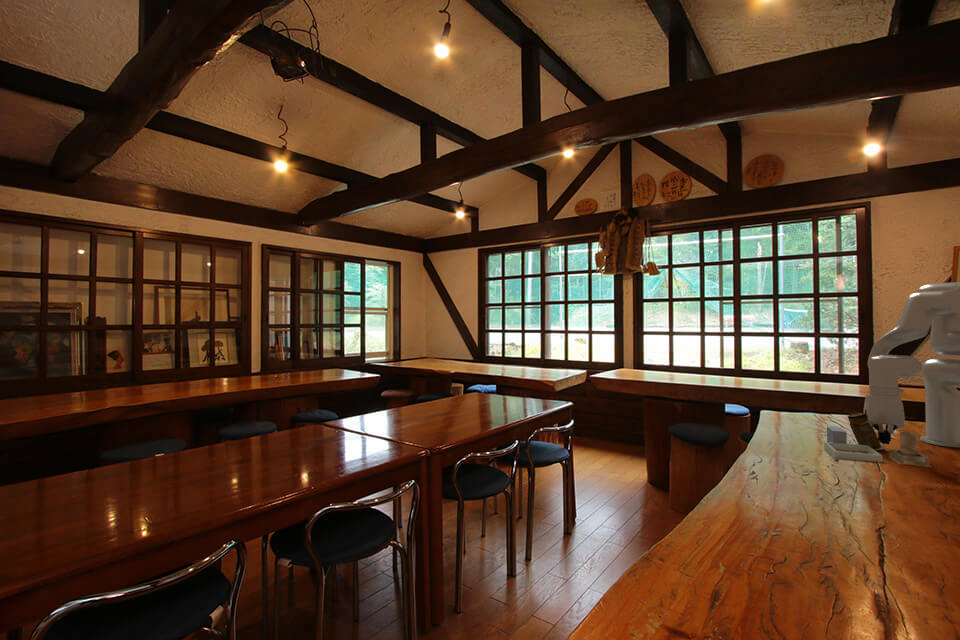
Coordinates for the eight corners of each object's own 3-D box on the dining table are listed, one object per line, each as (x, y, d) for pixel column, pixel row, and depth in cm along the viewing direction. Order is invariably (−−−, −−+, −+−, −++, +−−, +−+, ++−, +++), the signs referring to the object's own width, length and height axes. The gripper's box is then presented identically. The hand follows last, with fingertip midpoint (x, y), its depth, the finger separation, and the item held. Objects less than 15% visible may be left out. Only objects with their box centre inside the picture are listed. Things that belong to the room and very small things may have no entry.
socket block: (919, 462, 143) (919, 451, 143) (931, 470, 136) (931, 458, 136) (887, 459, 147) (887, 448, 147) (898, 466, 139) (898, 455, 139)
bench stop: (840, 445, 162) (840, 427, 162) (846, 451, 156) (846, 431, 156) (827, 444, 164) (826, 426, 164) (832, 450, 157) (832, 430, 157)
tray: (868, 453, 153) (867, 445, 153) (882, 465, 141) (882, 455, 141) (824, 449, 158) (824, 441, 158) (835, 460, 147) (834, 451, 147)
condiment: (881, 443, 157) (866, 410, 159) (885, 449, 150) (869, 415, 152) (856, 446, 161) (842, 415, 163) (859, 452, 154) (844, 419, 156)
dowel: (914, 460, 142) (913, 432, 142) (920, 464, 139) (919, 435, 139) (898, 458, 144) (897, 431, 144) (903, 462, 140) (903, 434, 140)
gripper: (906, 390, 154) (907, 442, 154) (853, 388, 160) (853, 438, 160) (916, 394, 147) (917, 448, 147) (860, 392, 153) (861, 444, 153)
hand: (884, 443), depth 154 cm, fingers closed
